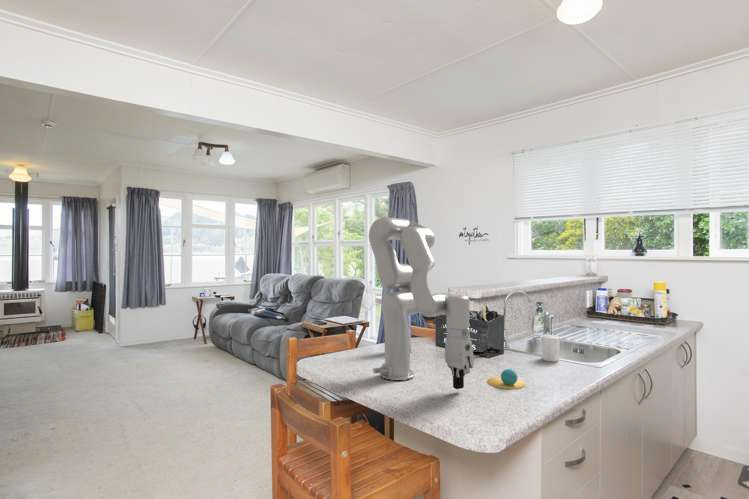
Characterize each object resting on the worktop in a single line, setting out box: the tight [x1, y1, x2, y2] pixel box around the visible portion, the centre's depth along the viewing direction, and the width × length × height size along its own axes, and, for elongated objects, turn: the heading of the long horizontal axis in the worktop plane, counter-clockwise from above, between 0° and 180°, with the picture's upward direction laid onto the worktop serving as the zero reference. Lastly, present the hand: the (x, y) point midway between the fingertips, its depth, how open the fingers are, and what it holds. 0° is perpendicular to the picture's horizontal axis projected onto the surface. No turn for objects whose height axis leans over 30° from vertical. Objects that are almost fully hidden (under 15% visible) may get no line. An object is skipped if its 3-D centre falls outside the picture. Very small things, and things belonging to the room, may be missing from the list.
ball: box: [500, 368, 518, 385], centre depth 145 cm, size 6×6×6 cm
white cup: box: [539, 333, 561, 362], centre depth 178 cm, size 8×8×10 cm
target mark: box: [486, 376, 526, 390], centre depth 147 cm, size 13×13×1 cm
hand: (458, 387), depth 138 cm, fingers closed
